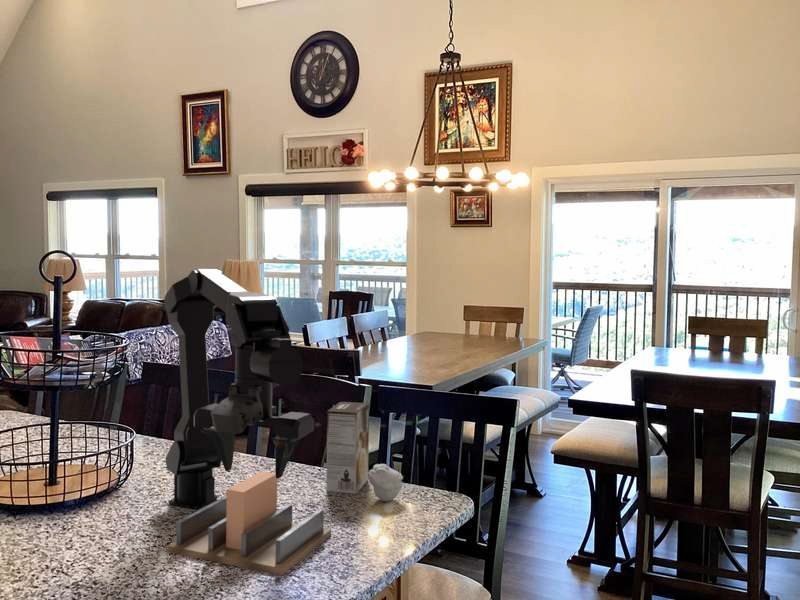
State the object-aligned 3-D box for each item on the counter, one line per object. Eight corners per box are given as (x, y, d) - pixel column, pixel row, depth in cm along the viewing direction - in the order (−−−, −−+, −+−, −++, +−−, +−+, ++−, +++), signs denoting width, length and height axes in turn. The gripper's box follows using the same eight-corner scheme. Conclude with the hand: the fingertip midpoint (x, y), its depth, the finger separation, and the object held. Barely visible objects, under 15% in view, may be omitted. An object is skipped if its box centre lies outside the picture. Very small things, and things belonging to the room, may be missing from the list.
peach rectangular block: (226, 547, 110) (226, 489, 110) (260, 524, 120) (261, 471, 119) (243, 550, 109) (243, 492, 109) (276, 527, 119) (277, 473, 118)
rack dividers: (176, 544, 111) (176, 522, 111) (228, 514, 124) (228, 494, 124) (280, 564, 105) (280, 540, 104) (323, 530, 118) (323, 509, 117)
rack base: (167, 552, 110) (167, 545, 110) (227, 517, 125) (227, 511, 125) (282, 575, 103) (282, 568, 103) (331, 535, 118) (331, 529, 118)
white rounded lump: (362, 497, 137) (363, 461, 137) (397, 493, 139) (398, 458, 139) (371, 508, 131) (372, 470, 131) (407, 504, 134) (408, 467, 133)
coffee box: (338, 477, 149) (339, 400, 148) (368, 480, 147) (370, 402, 146) (325, 491, 140) (326, 410, 139) (357, 494, 138) (358, 412, 137)
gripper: (171, 379, 108) (171, 481, 109) (280, 389, 102) (279, 498, 103) (214, 369, 119) (214, 462, 120) (316, 377, 112) (315, 476, 113)
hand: (253, 474), depth 114 cm, fingers open, 9 cm apart
